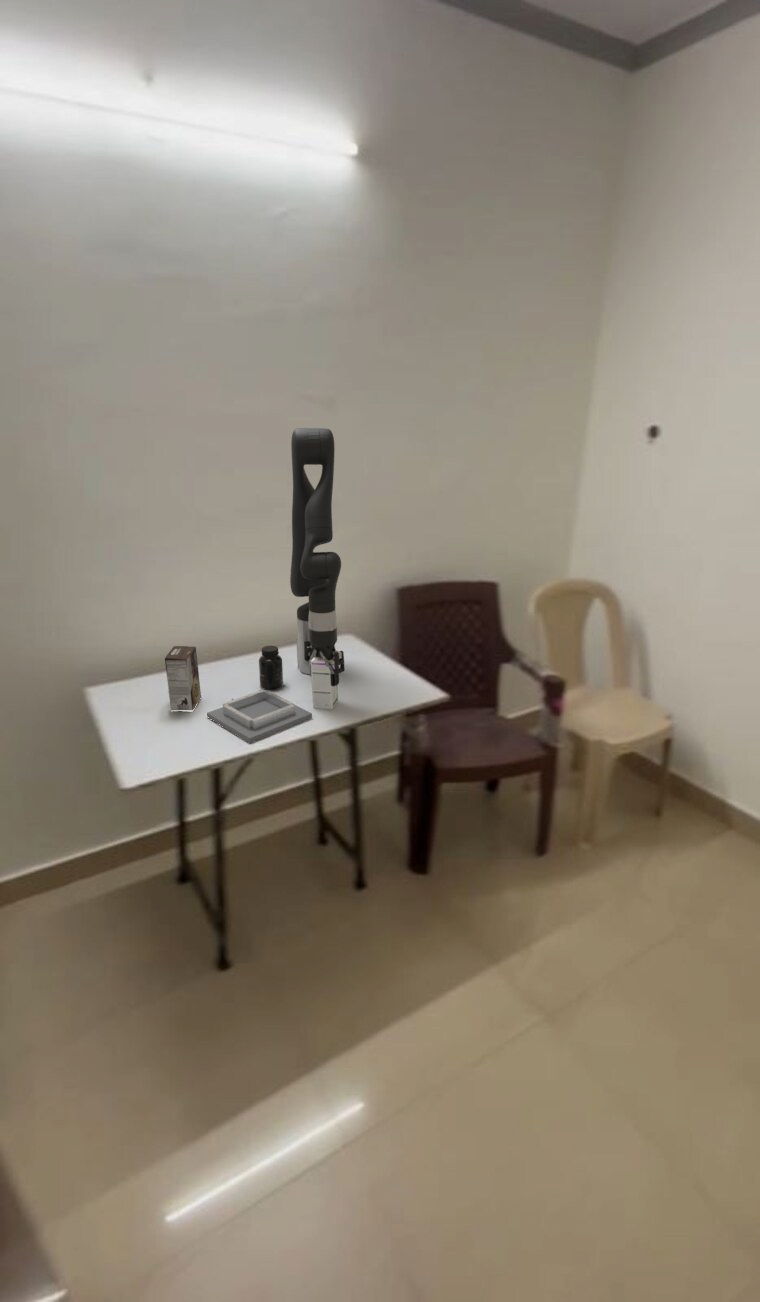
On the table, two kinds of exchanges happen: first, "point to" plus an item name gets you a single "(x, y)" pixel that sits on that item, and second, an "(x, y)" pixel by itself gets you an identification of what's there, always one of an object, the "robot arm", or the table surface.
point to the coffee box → (183, 678)
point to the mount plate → (254, 712)
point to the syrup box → (322, 685)
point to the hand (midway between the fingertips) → (324, 681)
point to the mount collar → (263, 720)
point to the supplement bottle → (270, 668)
